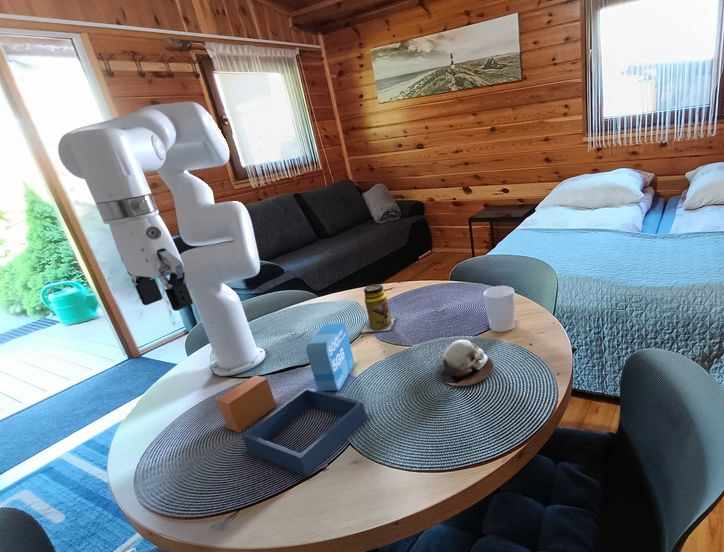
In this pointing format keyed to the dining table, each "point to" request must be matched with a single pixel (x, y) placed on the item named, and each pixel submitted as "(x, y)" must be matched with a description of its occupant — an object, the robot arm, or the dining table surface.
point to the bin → (321, 447)
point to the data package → (330, 356)
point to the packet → (246, 403)
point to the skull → (465, 364)
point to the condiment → (377, 309)
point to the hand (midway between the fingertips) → (168, 304)
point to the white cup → (500, 307)
